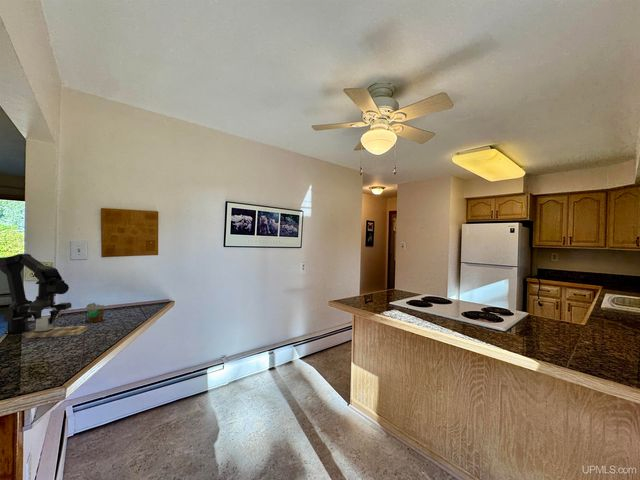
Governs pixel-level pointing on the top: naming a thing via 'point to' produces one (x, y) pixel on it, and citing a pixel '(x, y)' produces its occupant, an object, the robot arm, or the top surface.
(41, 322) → the nut block
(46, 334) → the rail
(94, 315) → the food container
